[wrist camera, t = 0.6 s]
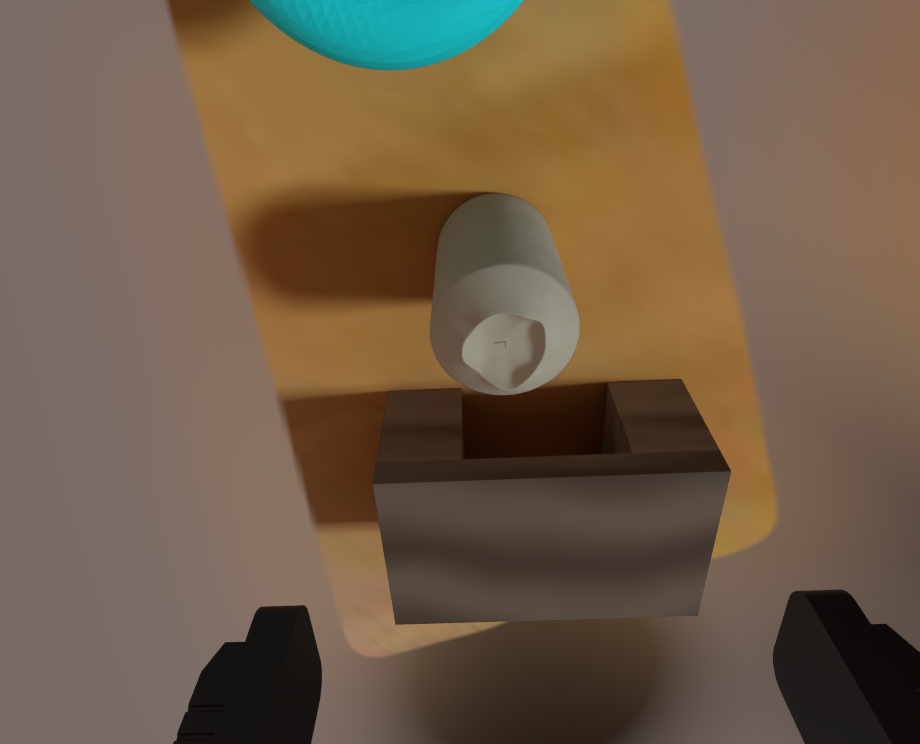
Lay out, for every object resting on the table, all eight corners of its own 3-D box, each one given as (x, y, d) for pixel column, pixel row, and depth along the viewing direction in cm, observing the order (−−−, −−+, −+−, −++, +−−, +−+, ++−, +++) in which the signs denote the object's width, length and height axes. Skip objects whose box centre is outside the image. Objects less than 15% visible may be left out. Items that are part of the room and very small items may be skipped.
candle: (548, 299, 32) (579, 417, 24) (439, 300, 32) (430, 418, 24) (555, 190, 29) (594, 280, 21) (435, 191, 29) (425, 282, 21)
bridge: (388, 391, 35) (372, 484, 29) (681, 379, 35) (730, 471, 28) (406, 521, 40) (395, 624, 34) (659, 513, 40) (697, 615, 34)
